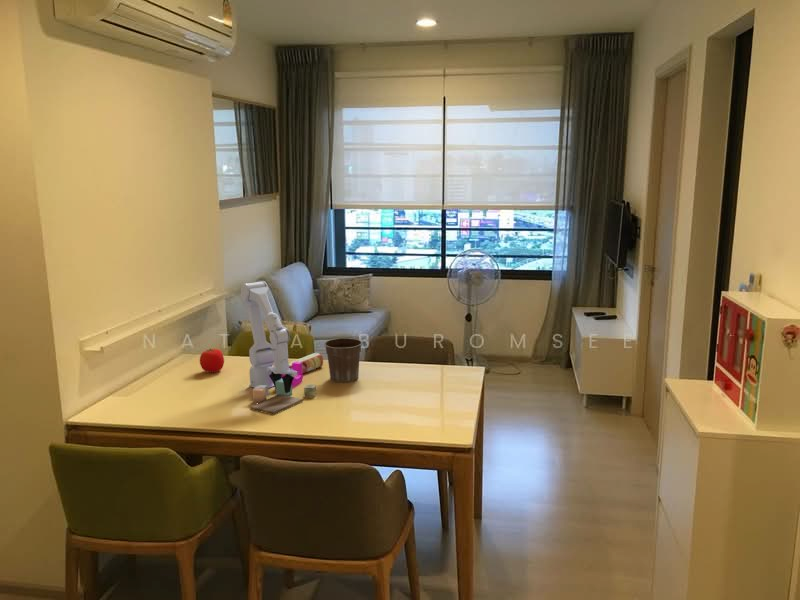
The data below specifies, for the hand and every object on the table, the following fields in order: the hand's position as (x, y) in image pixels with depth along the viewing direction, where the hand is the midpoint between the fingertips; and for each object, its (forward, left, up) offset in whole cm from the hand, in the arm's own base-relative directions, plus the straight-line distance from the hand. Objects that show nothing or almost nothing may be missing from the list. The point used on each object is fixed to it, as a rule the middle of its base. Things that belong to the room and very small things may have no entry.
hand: (283, 391), depth 256 cm
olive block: (+10, +5, -2) cm, 11 cm away
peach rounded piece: (-3, -10, -2) cm, 11 cm away
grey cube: (-7, -5, -2) cm, 9 cm away
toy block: (-7, +13, -2) cm, 15 cm away
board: (+6, -10, -2) cm, 12 cm away
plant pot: (+9, +29, -2) cm, 30 cm away
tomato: (-51, +9, -2) cm, 52 cm away
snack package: (-14, +28, -2) cm, 31 cm away
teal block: (0, +1, -2) cm, 2 cm away
